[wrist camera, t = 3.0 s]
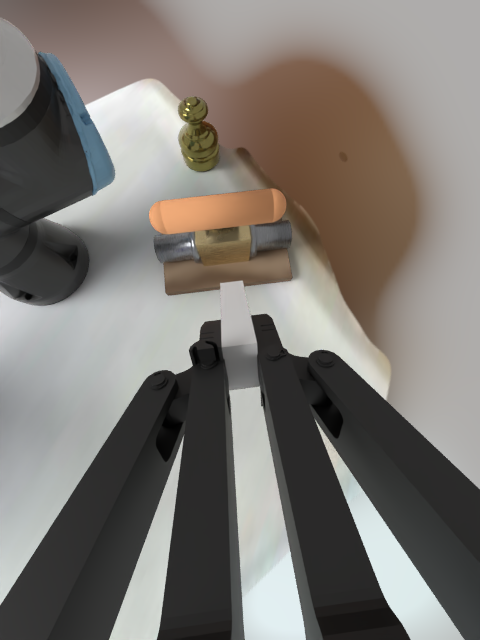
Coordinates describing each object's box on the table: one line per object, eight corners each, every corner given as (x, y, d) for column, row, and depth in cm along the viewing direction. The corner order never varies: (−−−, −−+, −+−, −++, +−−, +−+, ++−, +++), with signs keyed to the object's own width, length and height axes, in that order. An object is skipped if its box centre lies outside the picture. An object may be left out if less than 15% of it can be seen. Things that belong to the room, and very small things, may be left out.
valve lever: (260, 222, 33) (290, 221, 19) (182, 231, 33) (150, 238, 18) (259, 201, 32) (289, 182, 17) (178, 210, 32) (140, 199, 17)
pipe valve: (290, 280, 40) (303, 258, 32) (168, 295, 40) (149, 277, 31) (278, 212, 43) (287, 175, 35) (163, 225, 43) (144, 191, 34)
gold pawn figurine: (177, 151, 46) (160, 94, 36) (209, 137, 47) (201, 76, 37) (193, 178, 45) (180, 126, 35) (226, 163, 45) (222, 107, 36)
